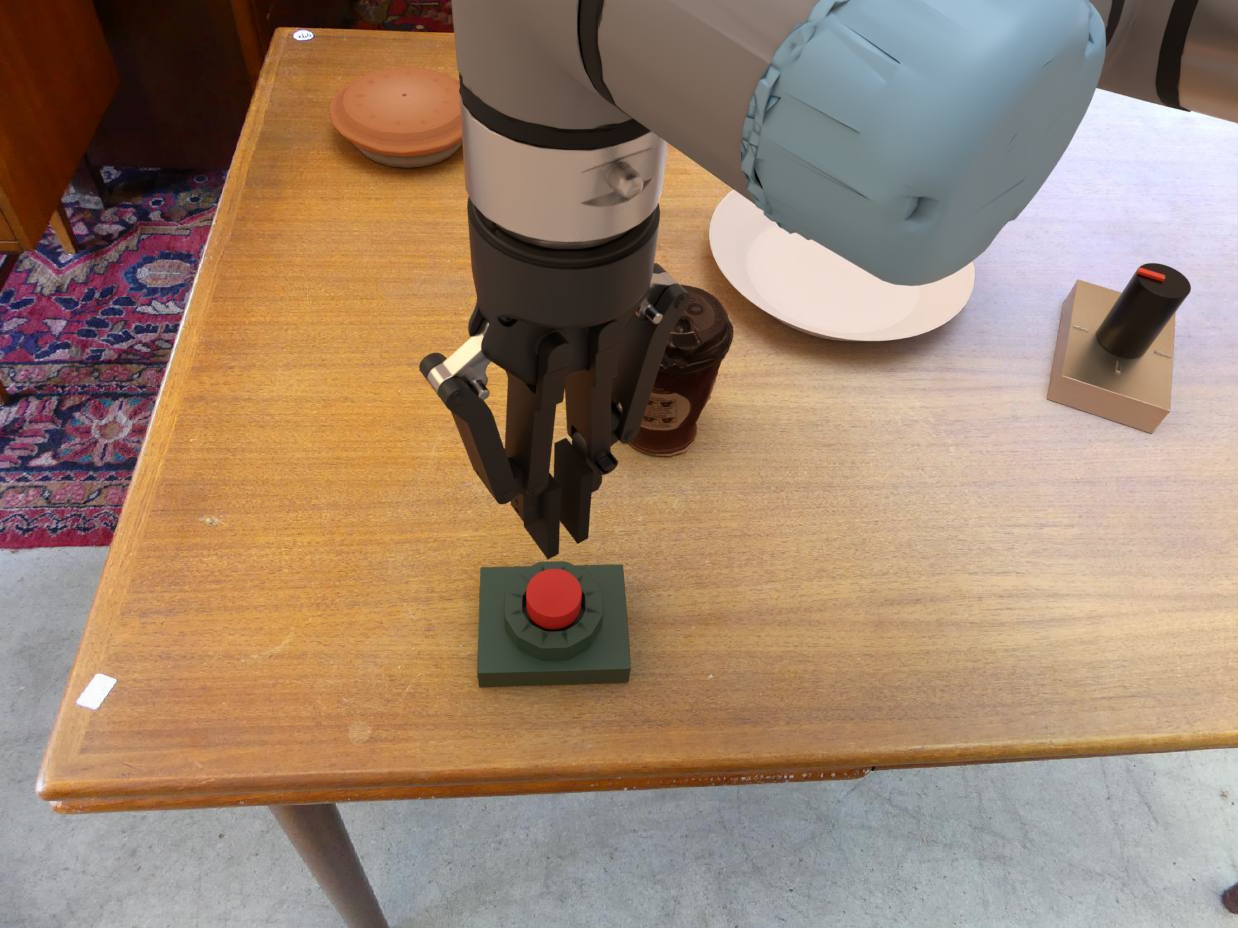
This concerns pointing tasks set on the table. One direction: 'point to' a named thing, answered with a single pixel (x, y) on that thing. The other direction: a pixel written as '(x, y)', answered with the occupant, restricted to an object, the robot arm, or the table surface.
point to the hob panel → (1109, 365)
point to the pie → (400, 116)
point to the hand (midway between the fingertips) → (555, 532)
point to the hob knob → (1143, 310)
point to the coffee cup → (685, 376)
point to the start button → (553, 599)
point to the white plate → (824, 282)
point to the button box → (552, 630)
